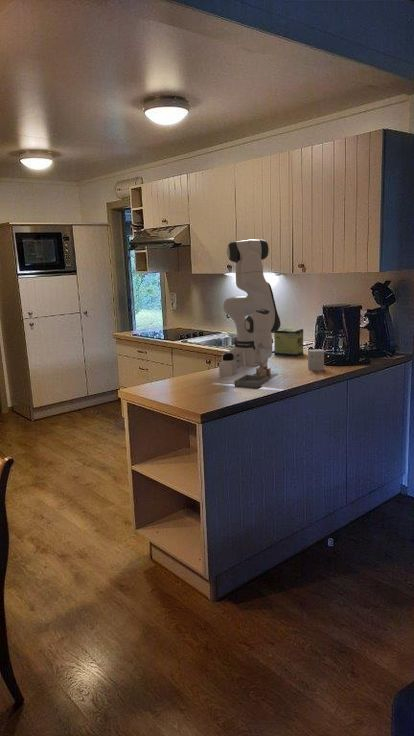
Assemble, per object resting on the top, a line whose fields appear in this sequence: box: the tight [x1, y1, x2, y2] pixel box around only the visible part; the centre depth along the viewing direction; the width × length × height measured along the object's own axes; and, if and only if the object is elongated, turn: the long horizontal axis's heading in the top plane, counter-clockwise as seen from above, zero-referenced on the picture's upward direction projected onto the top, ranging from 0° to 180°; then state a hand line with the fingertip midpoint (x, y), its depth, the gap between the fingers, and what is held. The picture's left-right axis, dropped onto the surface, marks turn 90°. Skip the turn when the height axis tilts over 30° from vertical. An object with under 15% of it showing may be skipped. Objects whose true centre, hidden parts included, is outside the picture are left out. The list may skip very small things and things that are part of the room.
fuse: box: [258, 359, 269, 376], centre depth 265 cm, size 4×4×9 cm
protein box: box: [273, 327, 304, 357], centre depth 324 cm, size 10×16×16 cm
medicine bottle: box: [218, 352, 238, 378], centre depth 272 cm, size 7×7×12 cm
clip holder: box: [253, 367, 279, 380], centre depth 265 cm, size 12×12×5 cm
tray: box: [234, 374, 269, 390], centre depth 253 cm, size 12×14×3 cm
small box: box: [307, 348, 325, 371], centre depth 280 cm, size 8×6×10 cm
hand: (263, 369), depth 265 cm, fingers closed on fuse, 4 cm apart
